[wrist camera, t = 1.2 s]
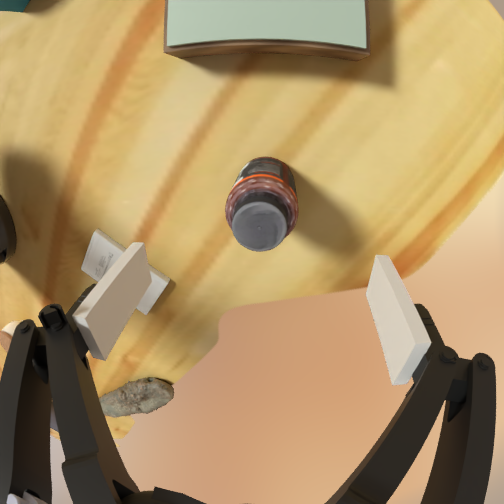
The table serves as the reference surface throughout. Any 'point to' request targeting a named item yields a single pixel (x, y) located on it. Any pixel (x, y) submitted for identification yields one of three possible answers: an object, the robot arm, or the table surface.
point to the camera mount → (13, 5)
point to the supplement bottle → (262, 204)
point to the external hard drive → (106, 254)
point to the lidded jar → (8, 334)
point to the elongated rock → (137, 397)
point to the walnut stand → (267, 27)
